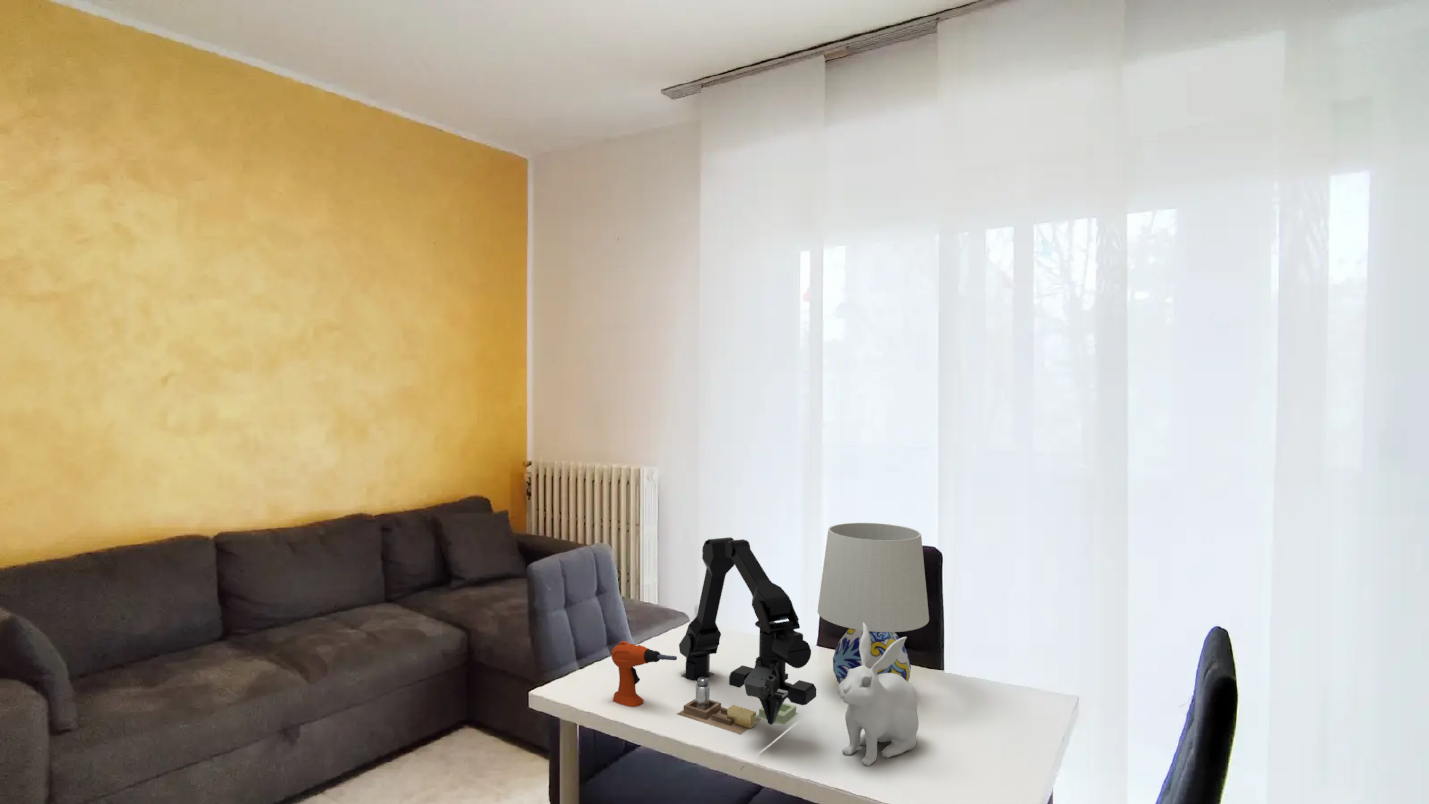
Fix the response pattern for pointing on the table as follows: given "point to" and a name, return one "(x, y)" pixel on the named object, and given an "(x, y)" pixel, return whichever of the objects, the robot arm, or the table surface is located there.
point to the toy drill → (632, 670)
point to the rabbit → (879, 704)
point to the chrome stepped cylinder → (702, 693)
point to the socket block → (712, 716)
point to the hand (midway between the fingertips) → (771, 723)
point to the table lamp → (873, 591)
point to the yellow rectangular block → (741, 716)
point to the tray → (781, 713)
